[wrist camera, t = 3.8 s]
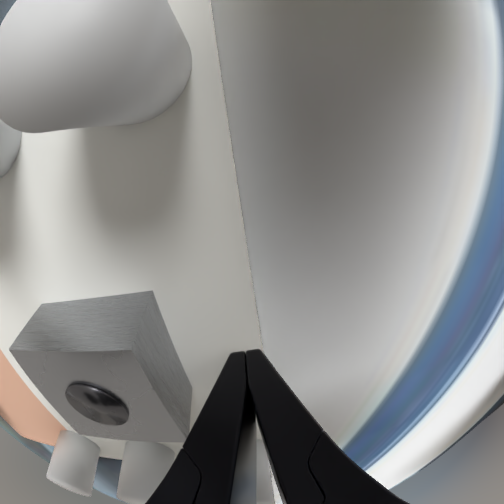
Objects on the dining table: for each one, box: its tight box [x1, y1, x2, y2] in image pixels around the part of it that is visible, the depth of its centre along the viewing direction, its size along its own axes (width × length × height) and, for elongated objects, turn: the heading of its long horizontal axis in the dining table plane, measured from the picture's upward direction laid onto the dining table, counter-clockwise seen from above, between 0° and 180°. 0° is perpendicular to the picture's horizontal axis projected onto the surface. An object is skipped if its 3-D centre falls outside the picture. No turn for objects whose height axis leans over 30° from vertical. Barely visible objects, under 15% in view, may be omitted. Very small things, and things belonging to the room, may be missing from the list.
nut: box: [9, 290, 192, 442], centre depth 7 cm, size 4×4×2 cm
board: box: [0, 0, 275, 504], centre depth 7 cm, size 20×20×4 cm
